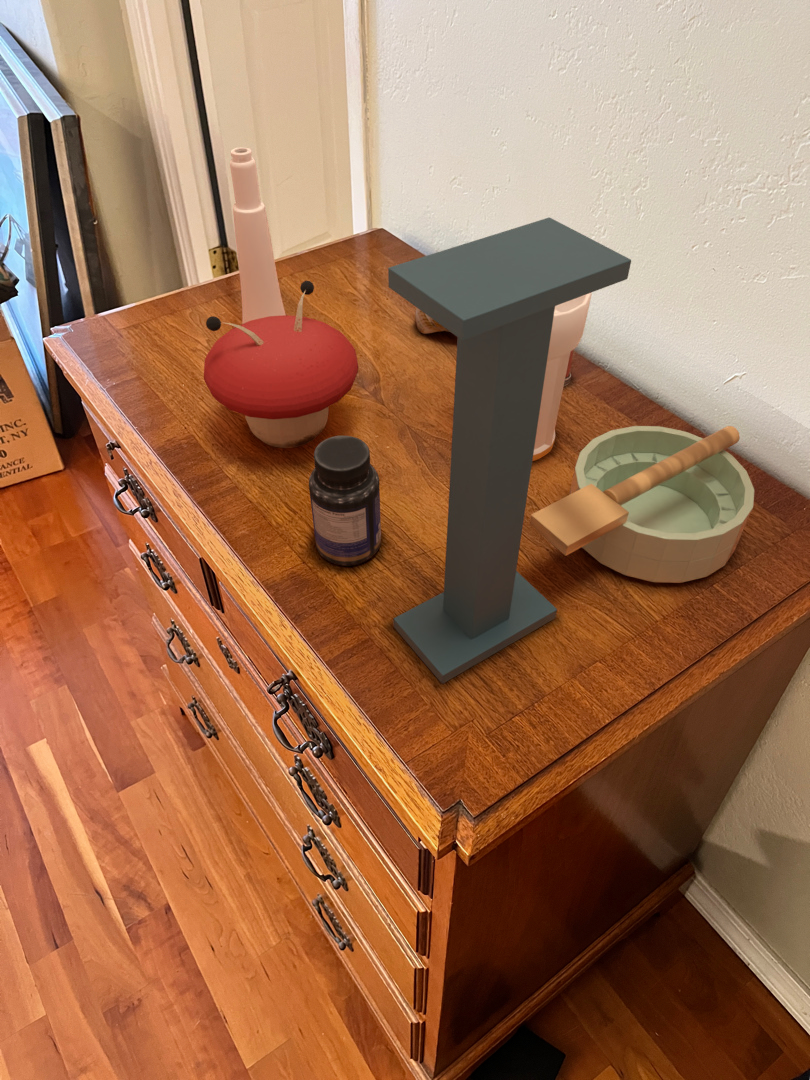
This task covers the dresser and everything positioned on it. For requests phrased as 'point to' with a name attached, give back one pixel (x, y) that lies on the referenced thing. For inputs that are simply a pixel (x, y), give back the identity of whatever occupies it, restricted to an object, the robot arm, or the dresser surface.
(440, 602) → the headphone stand
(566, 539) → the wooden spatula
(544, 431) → the cup
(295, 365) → the mushroom
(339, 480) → the pill bottle
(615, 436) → the bowl
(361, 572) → the dresser surface
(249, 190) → the cosmetic bottle
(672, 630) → the dresser surface
